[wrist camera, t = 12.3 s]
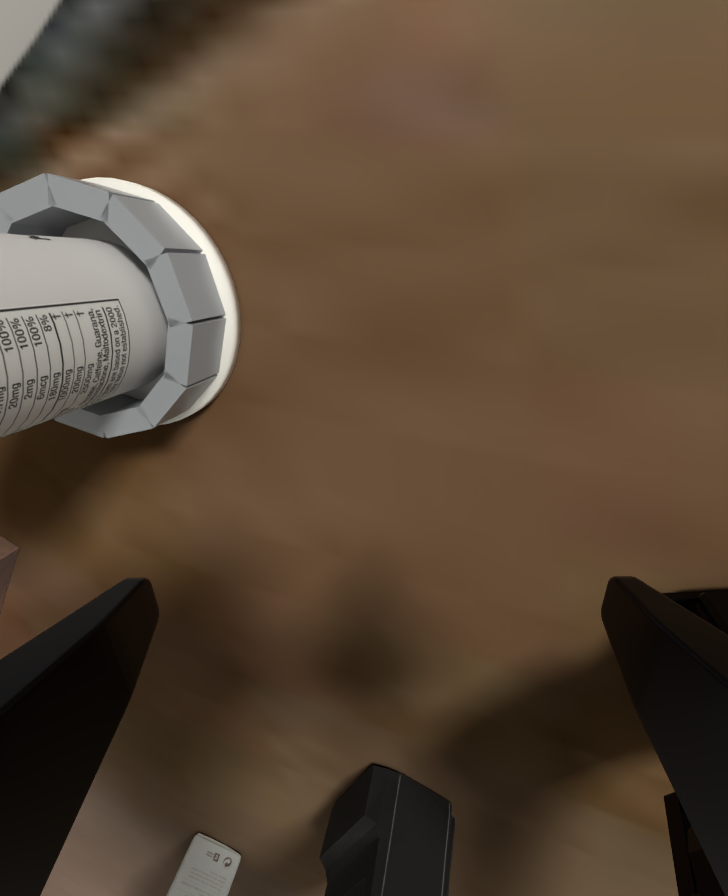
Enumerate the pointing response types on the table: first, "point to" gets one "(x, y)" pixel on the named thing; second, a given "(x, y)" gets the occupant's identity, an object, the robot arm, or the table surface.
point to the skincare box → (205, 869)
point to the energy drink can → (73, 326)
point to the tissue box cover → (6, 566)
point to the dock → (174, 277)
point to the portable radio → (388, 839)
